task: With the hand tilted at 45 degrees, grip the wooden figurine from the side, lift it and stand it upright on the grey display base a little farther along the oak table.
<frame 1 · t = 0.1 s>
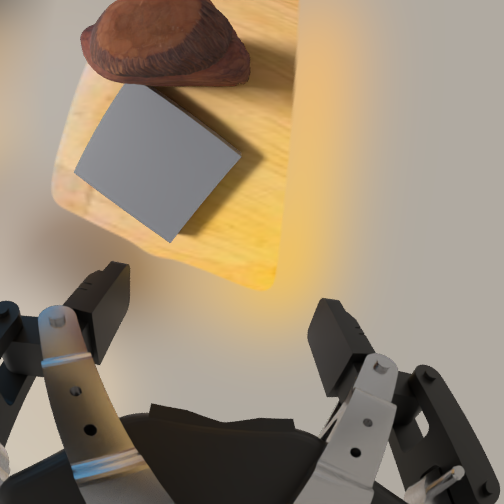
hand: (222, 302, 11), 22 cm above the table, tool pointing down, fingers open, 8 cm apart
wooden figurine: (194, 63, 24), on the table
display base: (154, 157, 29), on the table
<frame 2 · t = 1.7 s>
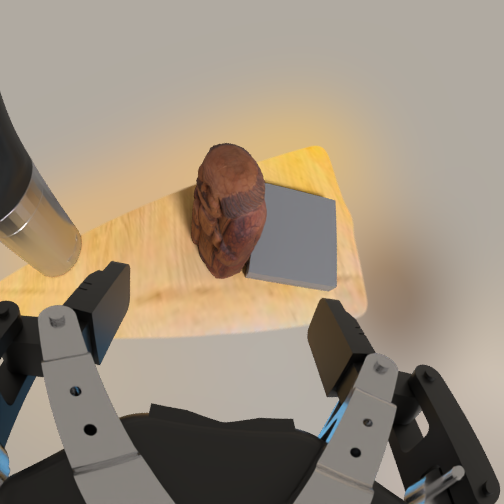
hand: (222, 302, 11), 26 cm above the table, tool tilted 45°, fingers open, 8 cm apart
wooden figurine: (216, 244, 41), on the table
display base: (292, 238, 43), on the table
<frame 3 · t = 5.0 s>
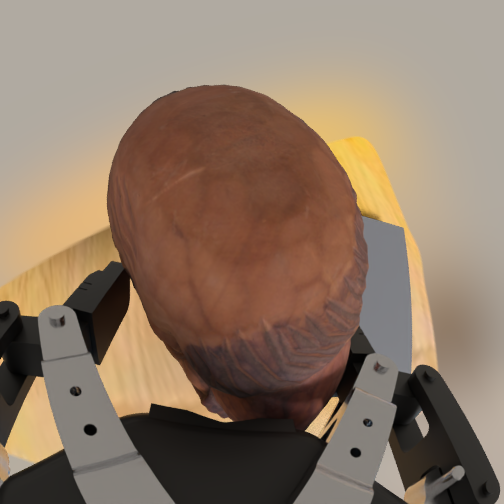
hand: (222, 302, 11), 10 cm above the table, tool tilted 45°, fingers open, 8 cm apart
wooden figurine: (203, 320, 21), on the table
display base: (339, 299, 23), on the table
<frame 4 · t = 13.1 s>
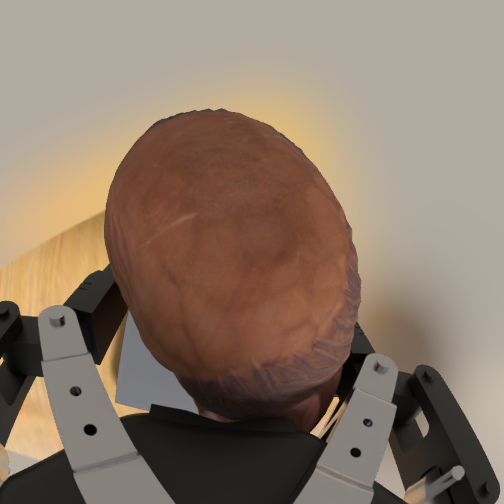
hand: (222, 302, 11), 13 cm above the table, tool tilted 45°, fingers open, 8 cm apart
wooden figurine: (203, 328, 21), point 2 cm above the table, touching display base, gripper
display base: (207, 330, 23), on the table
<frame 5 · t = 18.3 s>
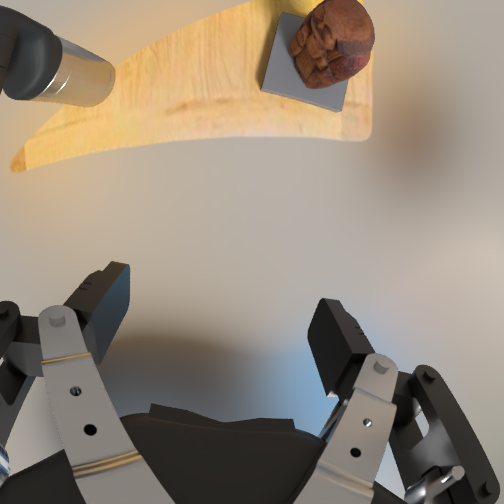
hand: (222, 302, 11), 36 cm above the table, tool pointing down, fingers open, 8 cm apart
wooden figurine: (309, 59, 35), point 2 cm above the table, touching display base
display base: (308, 62, 37), on the table
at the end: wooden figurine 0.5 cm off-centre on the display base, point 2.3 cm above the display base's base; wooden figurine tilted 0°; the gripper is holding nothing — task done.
